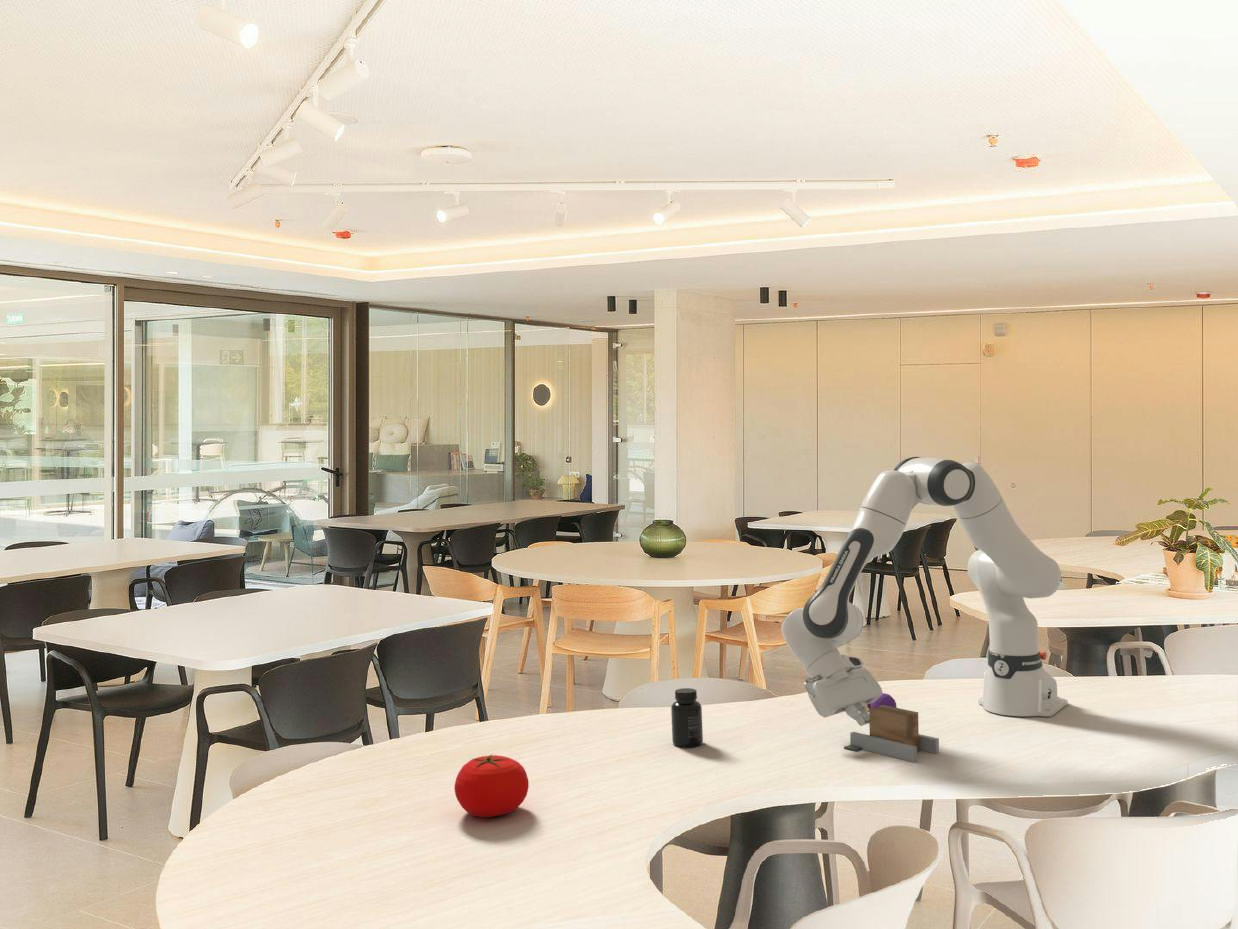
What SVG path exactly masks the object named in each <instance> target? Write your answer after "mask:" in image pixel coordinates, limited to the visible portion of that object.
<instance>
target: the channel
mask: <svg viewBox="0 0 1238 929" xmlns="http://www.w3.org/2000/svg"><path fill="white" fill-rule="evenodd" d="M849 737H850V738H849V740H850V741H849V742H850V743H849V744H848V745H846V746H843V749H844V750H848V751H852V752H858V751H860V750H864V751H867V752H871V753H874V754H875V753H876V754H879V755H884V756H888V757H891V758H896V759H899V760H904V761H908V762H910V763H911V762H912V763H915V762H918V752H917V747H916V746H912V745H908V744H903V743H899V742H895V741H891V740H887V739H882V738H878V737H874V736H870V734H865V733H862V732H858V731H851V732H850V733H849ZM939 747H940V738H938V737H934V736H929V735H924V734H920V733H919V751H923V752H928V753H931V754H939V753H940V748H939Z"/></svg>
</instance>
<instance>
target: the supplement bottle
mask: <svg viewBox="0 0 1238 929" xmlns="http://www.w3.org/2000/svg"><path fill="white" fill-rule="evenodd" d="M674 695H675V696H674V699H675V701H674V702H673V703H672V704H671V706H670V707H671V708H670V709H671V710H670V712H671V735H672V736H671V737H672V744H673V745H674V746H675V745H676V746H675V747H678V746H679V748H695V747H699V746H701V745H702V744H703V742H704V740H703V738H704V737H703V734H704V733H703V732H704V731H703V712H702V709H703V707H702V704H701V702H699V701H697V699H698V695H697V689H695V688H689V687H688V688H687V687H682V688H677V689H676V690H675V691H674Z"/></svg>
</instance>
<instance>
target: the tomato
mask: <svg viewBox="0 0 1238 929" xmlns="http://www.w3.org/2000/svg"><path fill="white" fill-rule="evenodd" d="M453 787H454V795H455V797H456V799H457V801H458V803H459V805H460V806H461V808H462V809H463V810H464V811H465V812H467V813H468V814H469V815H472V816H475V817H477V818H478V817H479V818H491V817H492V818H493V817H497V816H499V817H500V816H503V815H506V814H509V813H511V812H513V811H515V810H517V809H518V808H519V807H520V805H521V804H522V803H523V802H524V801H525V799H526V798H527V795H528V792H529V788H530V785H529V777H528V774H527V771H526V770H525V767H524V766H523V765H522V764H521V763H520V762H519V761H517V760H516V759H512V758H510V757H508V756H503V755H495V754H494V755H493V754H490V755H484V756H483V755H482V756H478V757H475V758H471V759H470V760H469V761H467V762H466V763H465V764H464V765H463V766H461V769H460V770H459V771H458V773H457V775H456V778H455V783H454V786H453Z"/></svg>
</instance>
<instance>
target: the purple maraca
mask: <svg viewBox="0 0 1238 929" xmlns="http://www.w3.org/2000/svg"><path fill="white" fill-rule="evenodd" d="M882 693H883V694H882V696H881V697H880V698H879V699H878V700H877V701H875V702H873V703H870V704H867V708H868V710H869V709H871V708H875V707H878V706H881V705H886V706H891V707H895V708H897V702H896V700H895V698H893V696H892V695H890V694H888V693H884V692H882Z"/></svg>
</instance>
